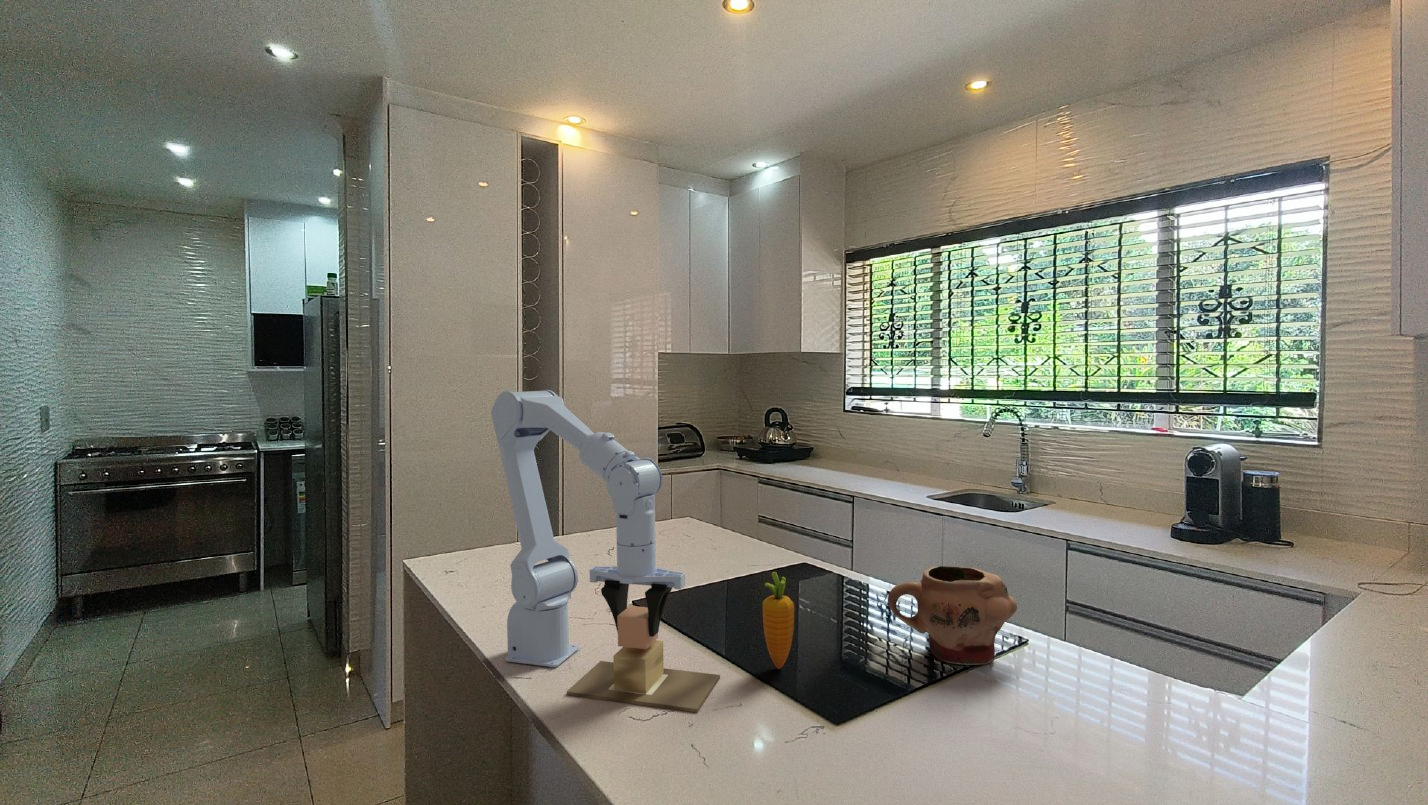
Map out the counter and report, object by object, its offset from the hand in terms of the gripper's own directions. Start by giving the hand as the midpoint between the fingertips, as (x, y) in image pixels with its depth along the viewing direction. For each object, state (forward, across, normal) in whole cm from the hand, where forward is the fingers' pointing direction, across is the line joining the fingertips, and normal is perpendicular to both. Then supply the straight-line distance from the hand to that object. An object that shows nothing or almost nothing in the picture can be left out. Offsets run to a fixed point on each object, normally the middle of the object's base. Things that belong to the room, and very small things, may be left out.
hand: (637, 632), depth 102 cm
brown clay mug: (+8, +45, +23) cm, 51 cm away
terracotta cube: (+1, 0, 0) cm, 1 cm away
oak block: (+8, 0, 0) cm, 8 cm away
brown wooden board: (+8, +1, 0) cm, 8 cm away
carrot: (+8, +19, +11) cm, 23 cm away
